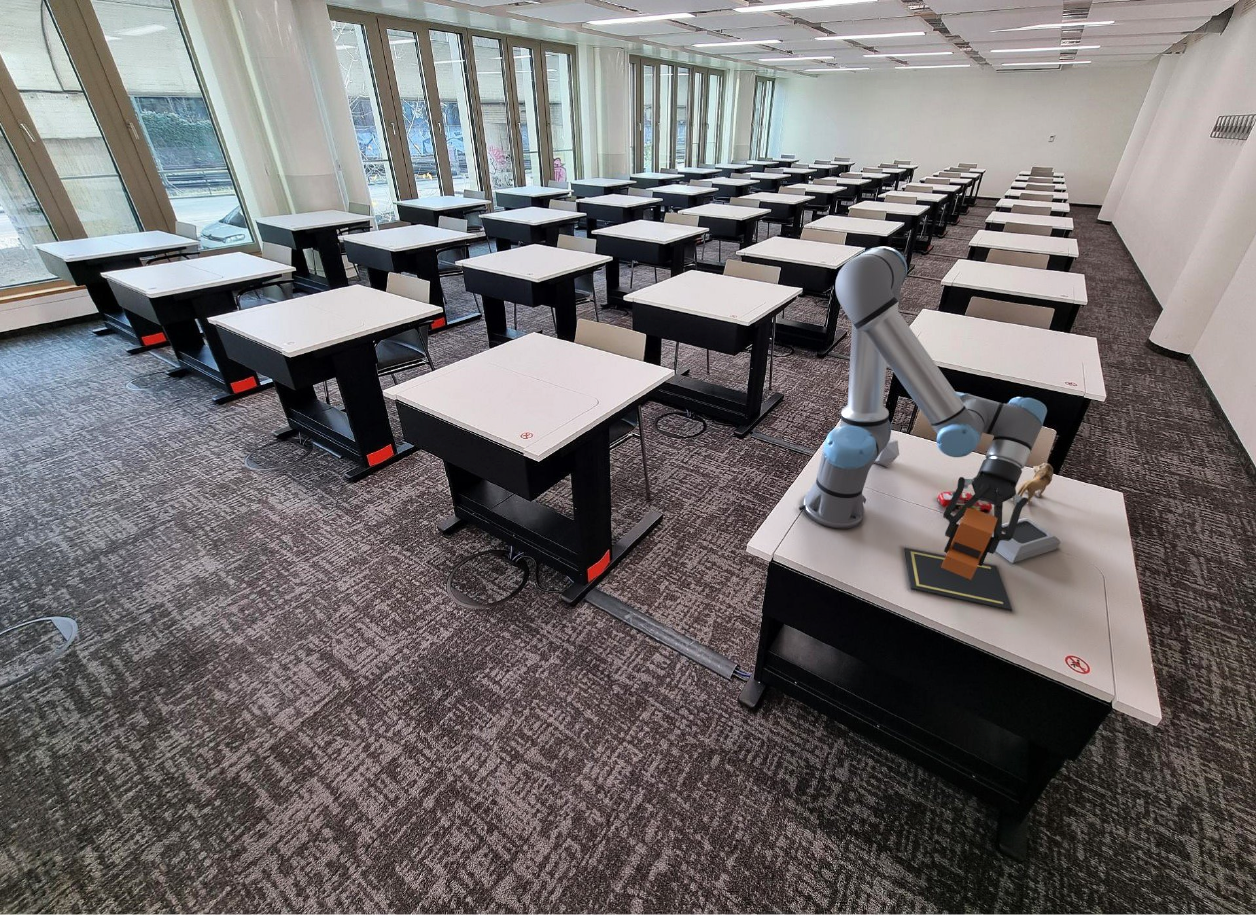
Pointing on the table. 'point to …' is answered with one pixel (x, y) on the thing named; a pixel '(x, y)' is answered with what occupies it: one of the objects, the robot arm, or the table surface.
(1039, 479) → the lion figurine
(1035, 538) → the grey low boxy piece
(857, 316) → the robot arm
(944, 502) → the race car
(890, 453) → the die
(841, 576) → the table surface
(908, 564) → the mat
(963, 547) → the toy van
